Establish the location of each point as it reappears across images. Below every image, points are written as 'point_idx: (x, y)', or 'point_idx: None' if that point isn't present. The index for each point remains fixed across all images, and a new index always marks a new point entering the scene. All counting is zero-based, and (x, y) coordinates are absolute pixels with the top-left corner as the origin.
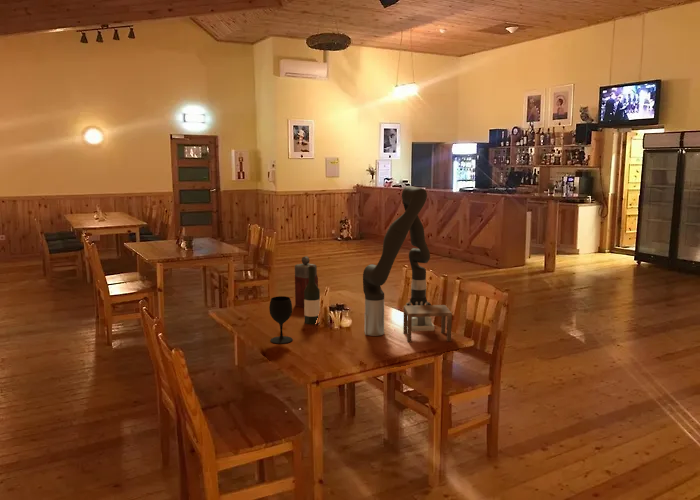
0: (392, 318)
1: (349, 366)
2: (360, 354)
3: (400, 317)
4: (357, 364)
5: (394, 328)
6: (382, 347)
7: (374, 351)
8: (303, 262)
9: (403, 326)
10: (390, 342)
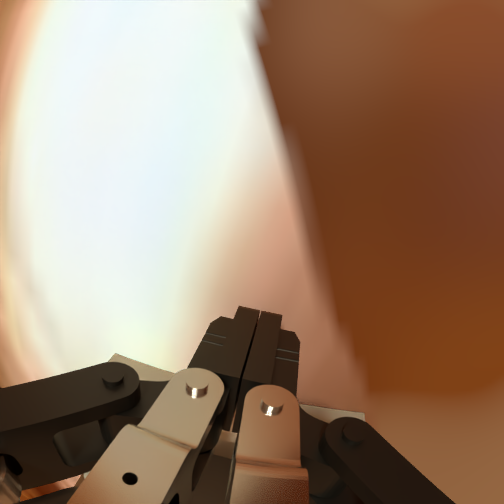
0: (27, 82)
1: (22, 493)
2: None
3: (105, 37)
4: (31, 498)
5: (37, 374)
6: (48, 487)
7: (38, 488)
8: None
9: (77, 481)
10: (61, 482)
